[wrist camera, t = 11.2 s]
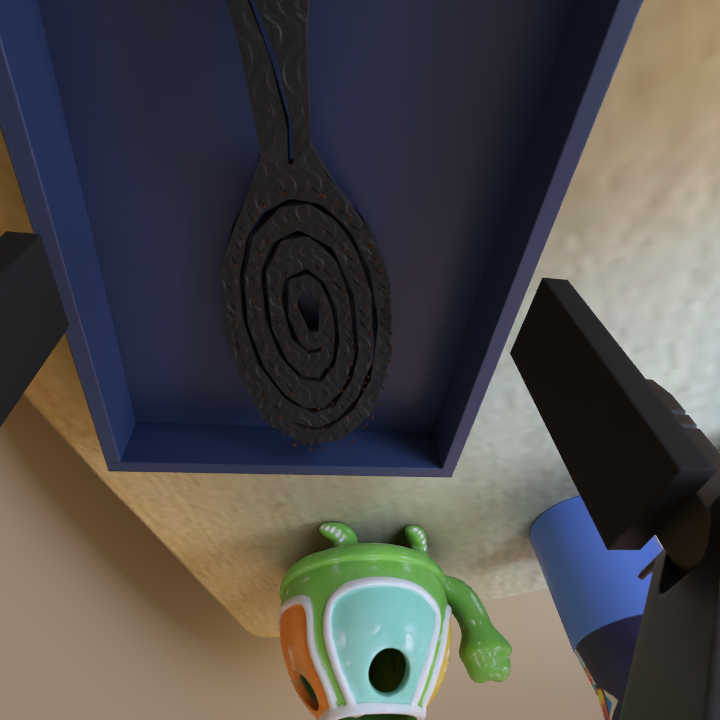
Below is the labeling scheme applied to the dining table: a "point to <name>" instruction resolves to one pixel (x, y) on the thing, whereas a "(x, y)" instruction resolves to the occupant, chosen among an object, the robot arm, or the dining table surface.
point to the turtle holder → (379, 628)
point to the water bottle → (594, 595)
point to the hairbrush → (299, 255)
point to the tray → (348, 169)
